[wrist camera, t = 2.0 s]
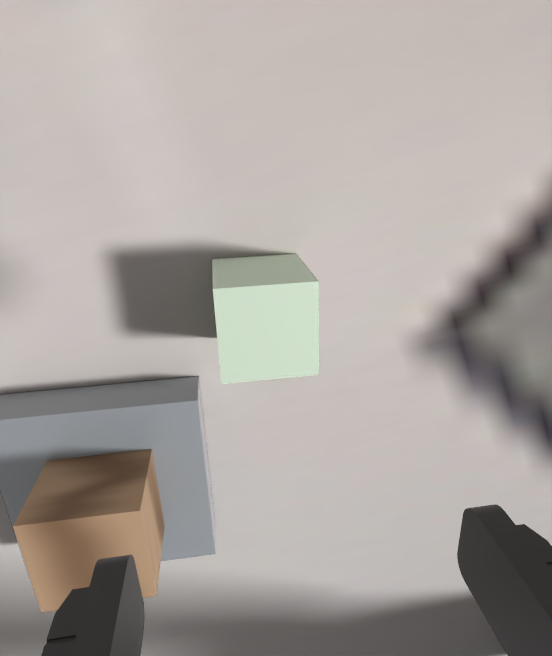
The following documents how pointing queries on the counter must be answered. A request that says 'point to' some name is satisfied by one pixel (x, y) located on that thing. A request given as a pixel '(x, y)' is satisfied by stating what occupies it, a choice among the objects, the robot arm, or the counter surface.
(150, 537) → the walnut block
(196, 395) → the slate trivet
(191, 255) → the counter surface
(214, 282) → the sage block
